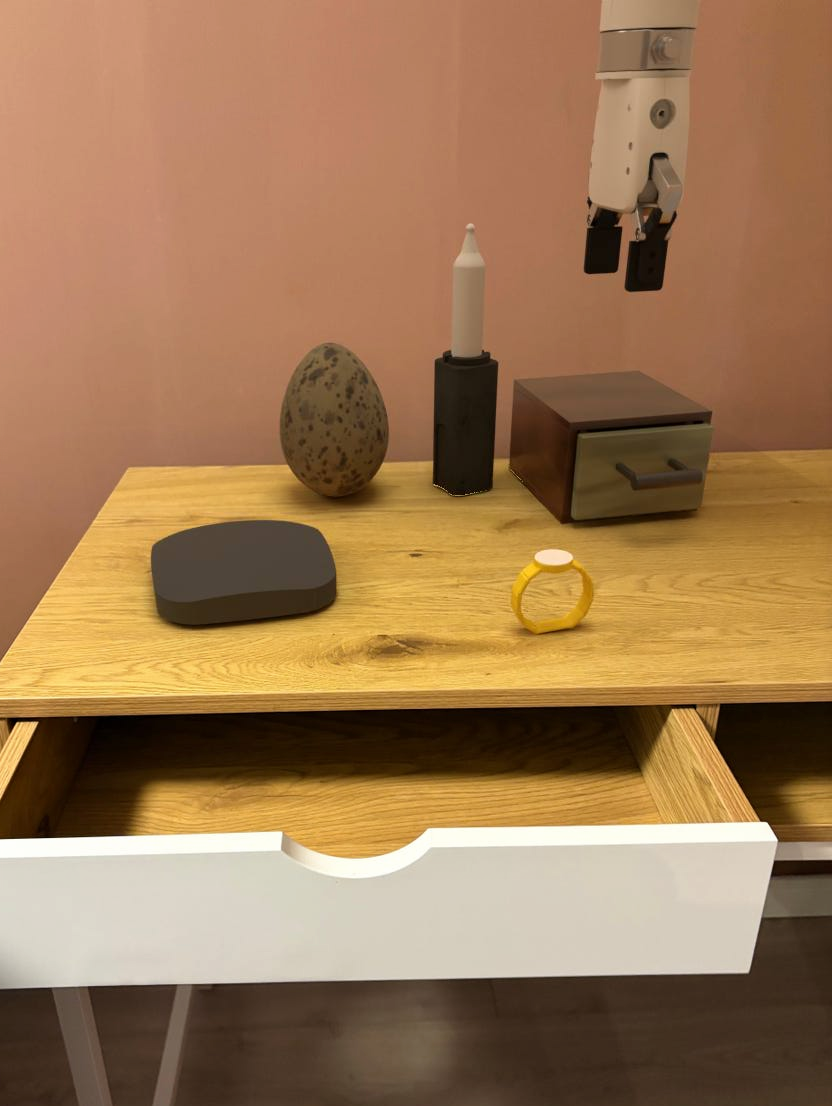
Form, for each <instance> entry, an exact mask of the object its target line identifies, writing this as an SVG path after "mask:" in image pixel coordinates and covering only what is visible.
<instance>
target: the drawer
mask: <svg viewBox="0 0 832 1106" xmlns="http://www.w3.org/2000/svg"><path fill="white" fill-rule="evenodd" d="M714 430H715V427H714V426H713V425H711V424H710V425H709V424H708V423H706V424H694V425H693V422H692V421H689V422H677V423H665V424H652V425H640V426H627V427H615V428H603V429H590V430H578V431H577V442H576V453H575V464H574V475H573V486H572V497H571V516H572V517H573V518H574V519H575V520H583V519H593V518H604V517H614V516H625V515H635V514H646V513H656V512H667V511H677V510H688V509H697V510H698V509H701V508H702V505H703V498H704V492H705V486H706V479H707V474H708V473H707V472H708V468H709V467H708V466H709V460H710V454H711V448H712V441H713V437H714V436H713V435H714Z"/></svg>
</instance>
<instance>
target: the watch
mask: <svg viewBox="0 0 832 1106" xmlns="http://www.w3.org/2000/svg"><path fill="white" fill-rule="evenodd" d="M571 569H572V570H575V571H577V572H578V573H579V574H580V576H581V581H582V582H581V583H582V592H581V595H580V597H579V599H578V602H577V604H576V605H575V606H574V608H573V609H571V611H569V612H568V613H567V615H565V616H562V617H557V618H551V619H546V620H540V621H536V622H533V621H531V620H530V619H528V618H527V617H525V616H524V614H523V612H522V601H523V600H522V597H523V595H524V593H525V591H526V589H527V587H528V586H529V584H530V583H531V581H532V580H534V579H535V578H536V577H538V575H540V574H541V573H547V574H561V573H566V572H568V571H570V570H571ZM510 591H511V592H510V607H511V609H512V611H513V613H514V615H515V617H516V619H517V620H518V621H519V623H520V624H521V626H523V628H525V629H526V630H528V631H530V632H531V633H533V634H535V635H539V634H544V633H549V632H554V631H559V630H560V631H561V630H566V629H573V628H576V626H577V625H578V624H579V623H581V621H582V620H583V619H584V618H585V617H586V616H587V615H588V613H589V611H590V609H591V606H592V604H593V601H594V597H595V589H594V582H593V579H592V577H591V576H590V575H589V573H588V572H587V570H586V569H585V568H584V566H582V564H580V562H579V561H578V560H576V559H574V556H573V554H572V553H570V552H569V551H566V550H563V549H557V548H553V549H552V548H551V549H544V550H540V551H537V552H536V554H535V555H534V557H533V561H532V562H531V563H530V564H528V565H527V566H525V568H523V569H522V570H521V572H519V574H518V576H517V577H516V579H515V581H514V583H513V585H512V588H511V590H510Z"/></svg>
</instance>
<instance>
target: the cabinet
mask: <svg viewBox="0 0 832 1106" xmlns="http://www.w3.org/2000/svg"><path fill="white" fill-rule="evenodd" d="M512 386H513V387H512V389H513V390H512V406H511V425H510V442H509V443H510V444H509V461H508V462H509V464H508V469H509V468H510V469H511V470H512V471H513V472H514V473H515V474H516V475H517V476H518V477H519V478H520V479H521V481H523V483H524V484H525V485H526V486H527V487H528V488H527V487H526V486H525V485H524V484H523V483H522V484H523V485H524V486H525V487H526V488H527V490H529V489H530V490H529V491H530V493H532V495H533V496H534V497H535V498H536V499H537V500H538V501H539V500H540V501H541V502H540V501H539V502H540V503H541V504H542V505H544V507H545V508H546V509H547V510H548V511H549V512H550V513H551V514H552V515H553V516H554V517H555V518H556V520H558V521H559V523H561V524H567V523H578V522H588V521H589V522H590V521H597V520H598V521H599V520H607V519H608V520H609V519H610V520H611V519H619V518H621V519H622V518H630V517H640V516H642V517H643V516H653V515H662V514H671V513H673V514H674V513H683V512H694V511H698V509H688V510H677V511H667V512H656V513H646V514H635V515H625V516H614V517H604V518H593V519H583V520H575V519H574V518H573V517H572V516H571V497H572V486H573V475H574V464H575V453H576V442H577V431H578V430H590V429H603V428H615V427H627V426H640V425H652V424H665V423H677V422H689V421H692V422H693V425H694V424H706V423H708V424H709V425H711V423H712V417H713V410H711V409H709V408H707V407H705V406H703V405H702V404H700V403H698V402H696V401H695V400H693V399H692V398H689V397H688V396H686V395H683V394H682V393H680V392H678V391H676V390H675V389H673V388H671V387H670V386H668V385H665V384H664V383H662V382H660V381H658V380H657V379H655V378H652V377H651V376H649V375H647V374H645V373H644V372H642V371H640V370H629V371H616V372H615V371H614V372H601V373H600V372H599V373H598V372H597V373H587V374H585V373H584V374H573V375H559V376H558V375H557V376H543V377H532V378H531V377H530V378H517V379H513V385H512ZM521 481H520V482H521Z"/></svg>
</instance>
